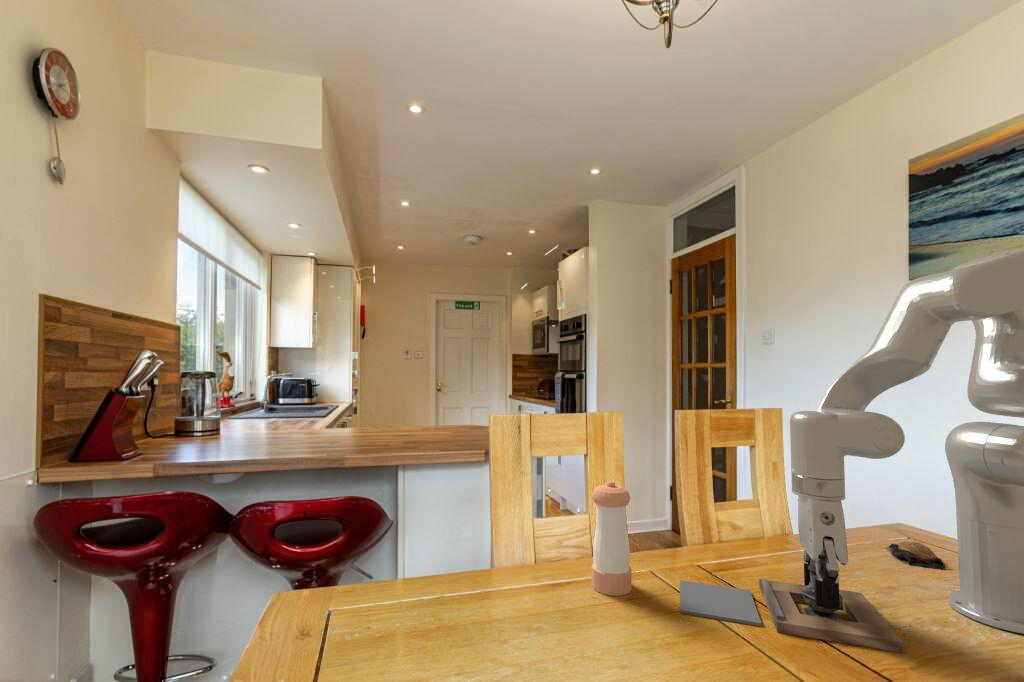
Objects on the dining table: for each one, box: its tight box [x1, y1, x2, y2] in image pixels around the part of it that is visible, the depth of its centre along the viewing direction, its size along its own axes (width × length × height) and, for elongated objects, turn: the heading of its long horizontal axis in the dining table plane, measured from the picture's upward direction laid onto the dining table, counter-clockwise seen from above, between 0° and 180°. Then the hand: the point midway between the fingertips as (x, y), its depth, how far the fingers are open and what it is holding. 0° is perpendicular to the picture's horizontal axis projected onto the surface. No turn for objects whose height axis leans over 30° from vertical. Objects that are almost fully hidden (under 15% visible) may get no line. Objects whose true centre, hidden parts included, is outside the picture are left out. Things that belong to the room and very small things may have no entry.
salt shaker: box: [800, 556, 843, 620], centre depth 78 cm, size 6×6×12 cm
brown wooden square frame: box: [758, 578, 904, 653], centre depth 78 cm, size 16×16×2 cm
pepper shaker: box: [591, 480, 633, 596], centre depth 88 cm, size 7×7×19 cm
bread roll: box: [885, 541, 948, 570], centre depth 102 cm, size 11×8×4 cm
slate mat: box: [679, 579, 763, 627], centre depth 82 cm, size 12×12×1 cm
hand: (821, 596), depth 78 cm, fingers closed on salt shaker, 5 cm apart
